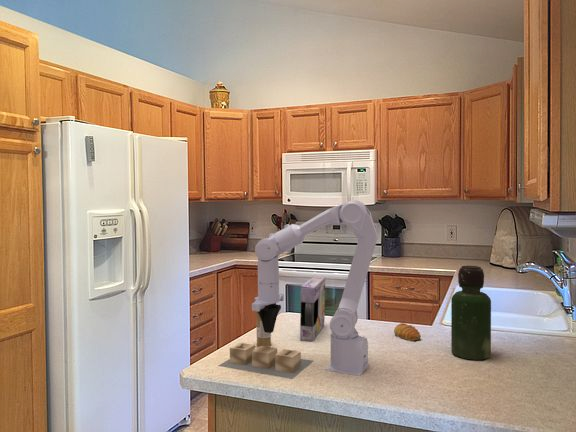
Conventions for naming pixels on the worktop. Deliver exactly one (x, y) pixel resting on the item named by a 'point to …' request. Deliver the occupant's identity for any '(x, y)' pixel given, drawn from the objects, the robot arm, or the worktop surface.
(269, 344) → the sprinkles bottle
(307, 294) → the cake pan box
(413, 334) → the pastry
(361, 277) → the robot arm
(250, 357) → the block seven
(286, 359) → the block one
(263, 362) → the plain block
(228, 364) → the tap mat
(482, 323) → the green bottle
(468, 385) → the worktop surface
